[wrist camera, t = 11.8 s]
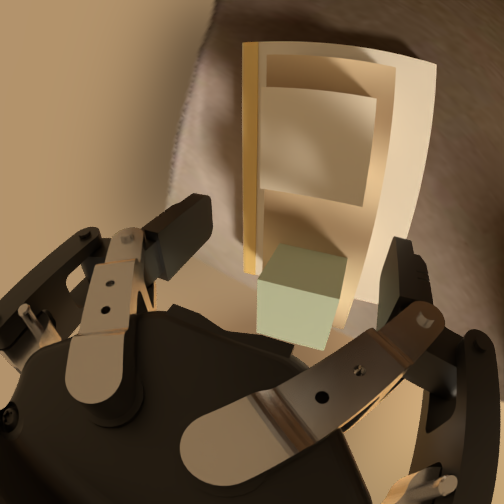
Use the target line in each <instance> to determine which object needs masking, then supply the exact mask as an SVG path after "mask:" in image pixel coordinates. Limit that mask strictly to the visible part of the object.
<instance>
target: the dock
mask: <svg viewBox="0 0 504 504" xmlns="http://www.w3.org/2000/svg"><path fill="white" fill-rule="evenodd" d="M274 54H280V55H311V56H324V57H335V58H344V59H352V60H359V61H365V62H371V63H377V64H382V65H387V66H392V67H396V77H395V94H394V106H393V116H392V126H391V134H390V142H389V149H388V156H387V162H386V168H385V174H384V180H383V185H382V190H381V195H380V200H379V205H378V210H377V214H376V219H375V223H374V228H373V232H372V236H371V240H370V244H369V248H368V251H367V255H366V259H365V262H364V266H363V270H362V273H361V276H360V280H359V283H358V286H357V290H356V293H355V296H354V299H358V300H362V301H366V302H371V303H375V304H378V302H379V282H380V276H381V271H382V268H383V265H384V262H385V259H386V257H387V254H388V251H389V248H390V245H391V242H392V239H393V237H394V236H396V237H400V238H404V239H406V238H407V235H408V231H409V228H410V225H411V221H412V217H413V214H414V210H415V206H416V203H417V199H418V195H419V190H420V186H421V182H422V177H423V172H424V168H425V162H426V157H427V152H428V146H429V140H430V133H431V126H432V118H433V109H434V99H435V86H436V64H433V63H430V62H426V61H423V60H419V59H416V58H412V57H408V56H404V55H400V54H395V53H391V52H386V51H381V50H375V49H370V48H363V47H357V46H349V45H341V44H331V43H318V42H296V41H270V42H244V43H242V185H243V271H244V272H245V273H249V274H253V275H255V274H256V275H260V274H261V273H262V264H263V231H264V192H265V189H261V188H260V155H261V87H266V75H267V55H274Z"/></svg>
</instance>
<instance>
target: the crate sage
mask: <svg viewBox="0 0 504 504" xmlns="http://www.w3.org/2000/svg"><path fill="white" fill-rule="evenodd" d="M347 259H348V258H345V257H340V256H336V255H331V254H327V253H322V252H318V251H313V250H309V249H304V248H300V247H295V246H290V245H286V244H281V243H279V245H278V247H277V248H276V250H275V252H274V253H273V255H272V256H271V258H270V260H269V261H268V263H267V265H266V266H265V268H264V270H263V271H262V273H261V274H260V276H259V278H258V283H257V333H260V334H264V335H267V336H270V337H274V338H277V339H281V340H284V341H288V342H292V343H296V344H299V345H303V346H306V347H310V348H314V349H318V350H322V351H324V348H325V346H326V342H327V339H328V336H329V333H330V330H331V327H332V324H333V320H334V317H335V314H336V310H337V307H338V303H339V300H340V295H341V290H342V285H343V280H344V275H345V270H346V265H347Z"/></svg>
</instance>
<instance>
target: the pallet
mask: <svg viewBox="0 0 504 504" xmlns="http://www.w3.org/2000/svg"><path fill="white" fill-rule="evenodd" d="M395 77H396V67H392V66H387V65H382V64H377V63H371V62H365V61H359V60H352V59H344V58H335V57H324V56H311V55H280V54H274V55H267V75H266V87H284V88H300V89H313V90H323V91H332V92H339V93H347V94H353V95H359V96H365V97H371V98H376V99H377V101H376V113H375V124H374V133H373V142H372V150H371V157H370V164H369V171H368V177H367V183H366V189H365V195H364V201H363V206H362V207H360V206H355V205H351V204H346V203H341V202H336V201H331V200H326V199H320V198H315V197H309V196H304V195H298V194H292V193H286V192H280V191H274V190H268V189H265V192H264V231H263V264H262V271H263V270H264V268H265V266H266V265H267V263H268V261H269V260H270V258H271V256H272V255H273V253H274V252H275V250H276V248H277V247H278V245H279V243H281V244H286V245H290V246H295V247H300V248H304V249H309V250H313V251H318V252H322V253H327V254H331V255H336V256H340V257H345V258H348V259H347V265H346V270H345V275H344V280H343V285H342V290H341V295H340V300H339V303H338V307H337V310H336V314H335V317H334V320H333V324H332V327H336V328H340V329H344V326H345V323H346V320H347V317H348V314H349V311H350V308H351V305H352V302H353V299H354V296H355V293H356V290H357V286H358V283H359V280H360V276H361V273H362V270H363V266H364V262H365V259H366V255H367V251H368V248H369V244H370V240H371V236H372V232H373V228H374V223H375V219H376V214H377V210H378V205H379V200H380V195H381V190H382V185H383V180H384V174H385V168H386V162H387V156H388V149H389V142H390V134H391V126H392V116H393V106H394V94H395Z"/></svg>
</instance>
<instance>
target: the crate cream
mask: <svg viewBox="0 0 504 504" xmlns="http://www.w3.org/2000/svg"><path fill="white" fill-rule="evenodd" d="M376 101H377V99H376V98H371V97H365V96H359V95H353V94H347V93H339V92H332V91H323V90H313V89H300V88H284V87H261V155H260V188H261V189H268V190H274V191H280V192H286V193H292V194H298V195H304V196H309V197H315V198H320V199H326V200H331V201H336V202H341V203H346V204H351V205H355V206H360V207H362V206H363V201H364V195H365V189H366V183H367V177H368V171H369V164H370V157H371V150H372V142H373V133H374V124H375V113H376Z"/></svg>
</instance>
